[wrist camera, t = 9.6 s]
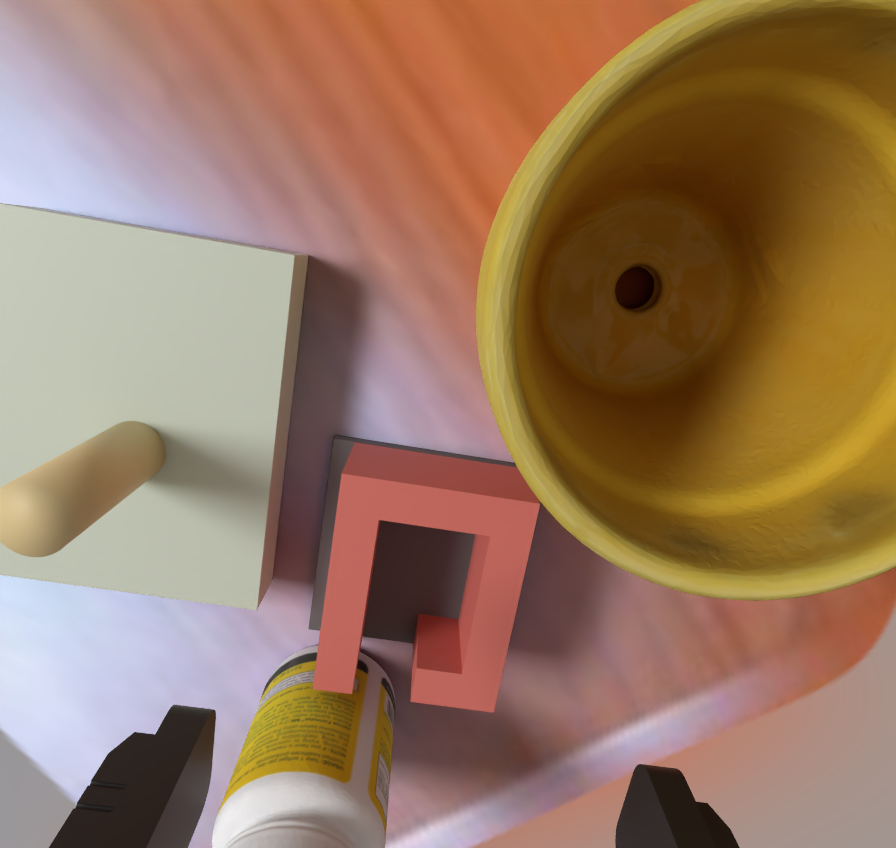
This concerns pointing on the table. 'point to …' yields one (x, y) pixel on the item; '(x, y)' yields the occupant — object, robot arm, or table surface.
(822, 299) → the plant pot
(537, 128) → the table surface
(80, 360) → the stand
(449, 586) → the coaster
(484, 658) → the c link
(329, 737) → the supplement bottle
